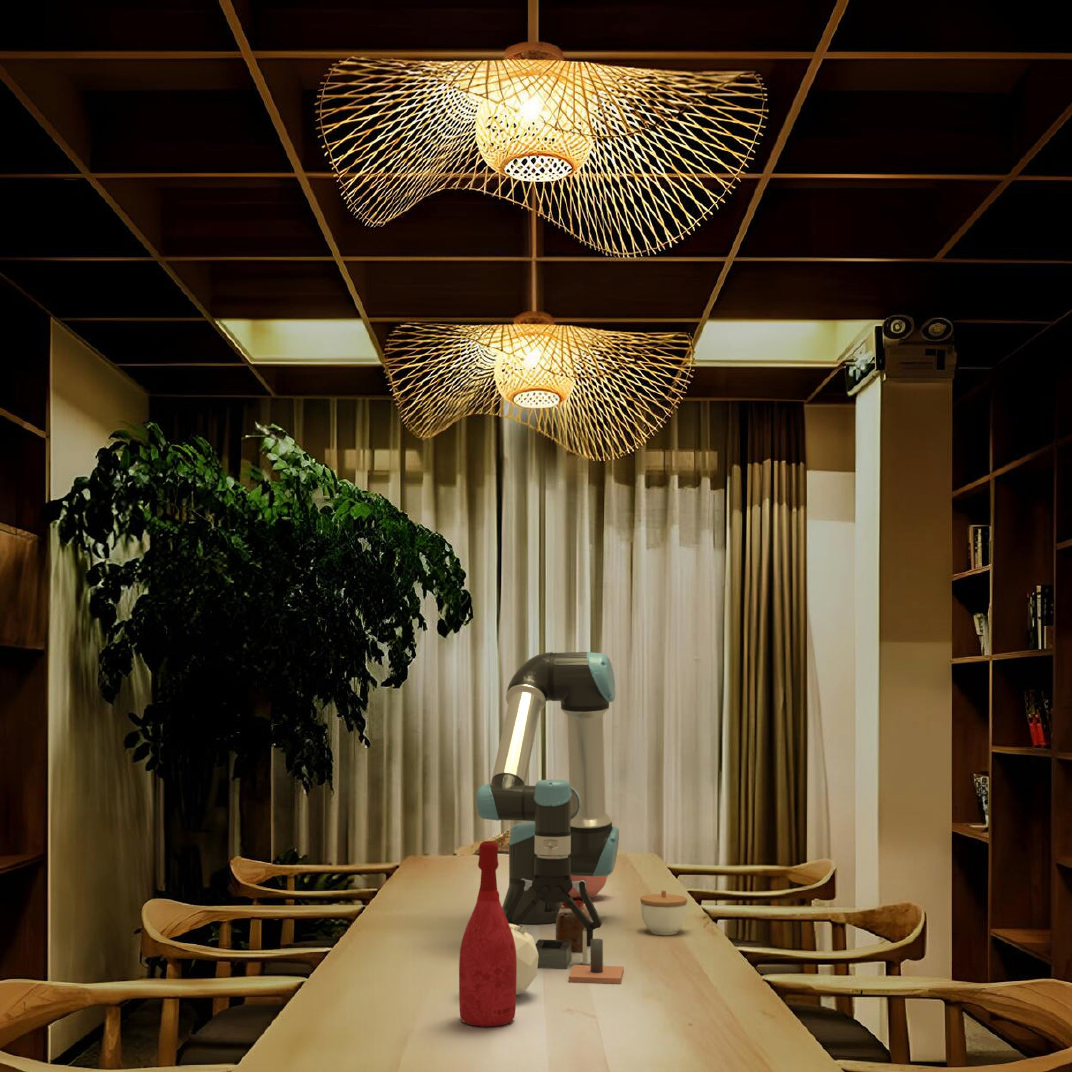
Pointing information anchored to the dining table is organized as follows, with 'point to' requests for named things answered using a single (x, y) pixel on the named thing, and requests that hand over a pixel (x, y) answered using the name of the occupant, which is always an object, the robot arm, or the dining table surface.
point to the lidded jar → (663, 912)
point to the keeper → (596, 968)
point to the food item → (571, 926)
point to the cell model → (588, 885)
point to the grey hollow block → (554, 953)
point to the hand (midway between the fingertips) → (552, 962)
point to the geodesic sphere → (524, 958)
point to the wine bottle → (487, 953)
